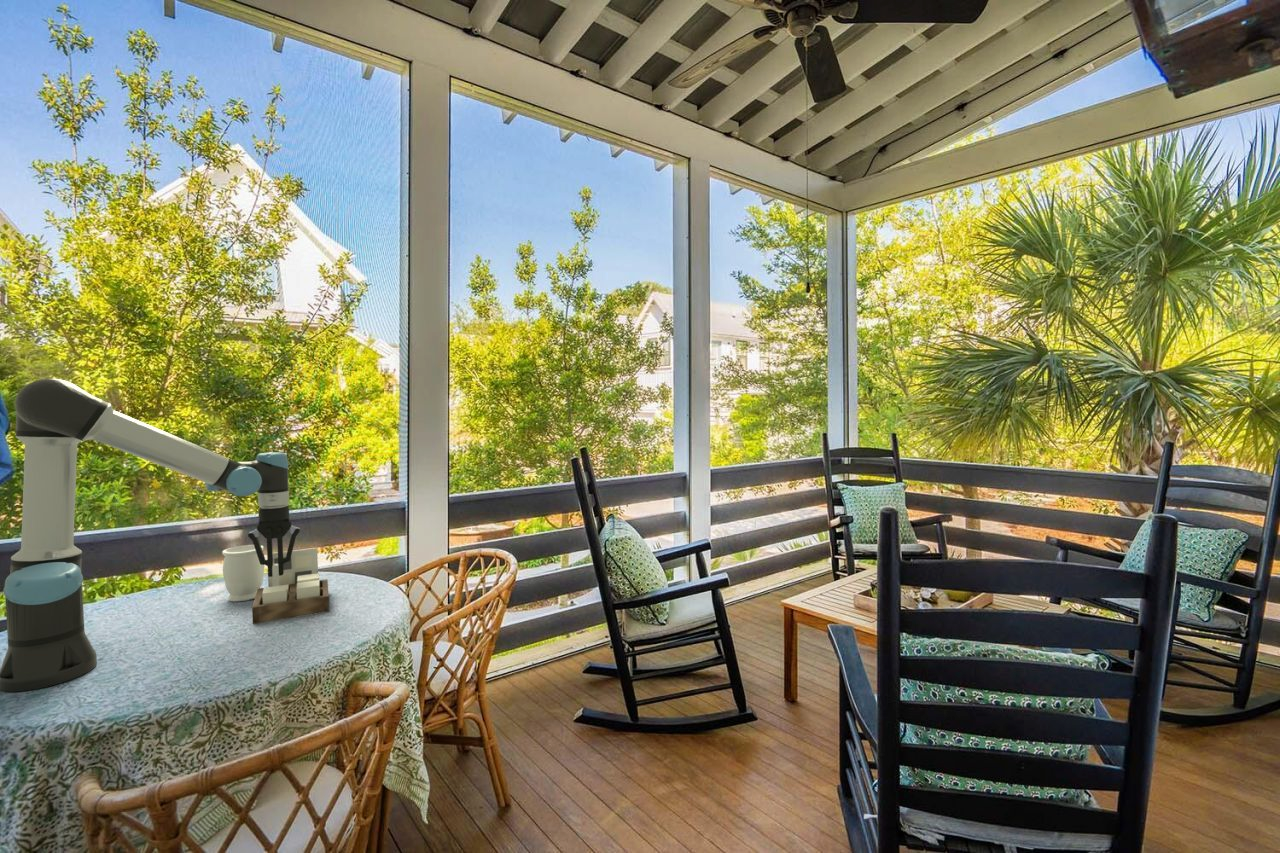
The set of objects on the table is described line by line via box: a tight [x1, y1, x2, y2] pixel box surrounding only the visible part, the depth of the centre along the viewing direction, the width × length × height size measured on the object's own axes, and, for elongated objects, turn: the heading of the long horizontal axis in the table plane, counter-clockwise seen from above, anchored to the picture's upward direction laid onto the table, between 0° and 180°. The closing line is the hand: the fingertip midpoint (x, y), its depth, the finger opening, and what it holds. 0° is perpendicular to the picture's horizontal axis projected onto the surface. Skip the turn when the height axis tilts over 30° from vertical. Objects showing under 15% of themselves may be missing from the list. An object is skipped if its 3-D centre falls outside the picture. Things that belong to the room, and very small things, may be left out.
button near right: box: [297, 579, 320, 599], centre depth 165 cm, size 6×6×4 cm
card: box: [267, 547, 319, 587], centre depth 176 cm, size 13×1×14 cm, turn 119°
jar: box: [222, 544, 265, 602], centre depth 176 cm, size 11×10×15 cm
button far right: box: [297, 572, 320, 586], centre depth 172 cm, size 6×6×4 cm
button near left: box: [262, 585, 288, 604], centre depth 161 cm, size 6×6×4 cm
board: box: [251, 578, 330, 625], centre depth 167 cm, size 18×18×4 cm
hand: (276, 586), depth 168 cm, fingers closed
